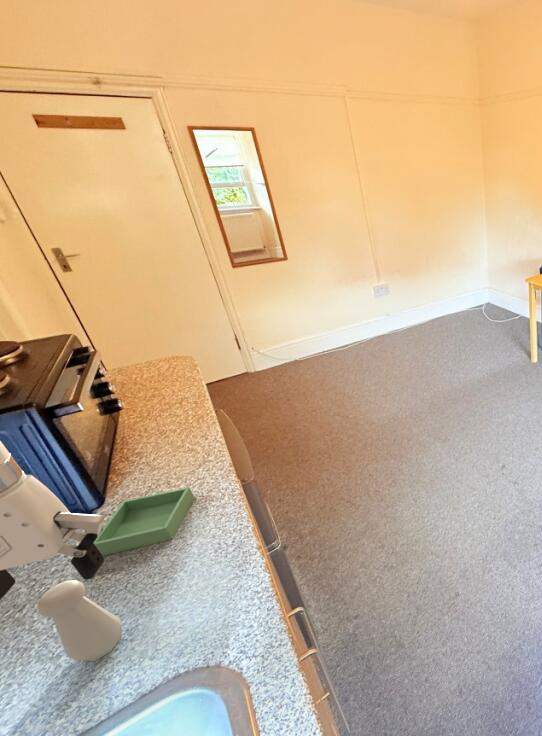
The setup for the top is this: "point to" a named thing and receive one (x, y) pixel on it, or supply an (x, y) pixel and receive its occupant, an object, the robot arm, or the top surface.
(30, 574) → the top surface
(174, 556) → the top surface
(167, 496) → the tray
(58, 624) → the salt shaker
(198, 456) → the top surface
